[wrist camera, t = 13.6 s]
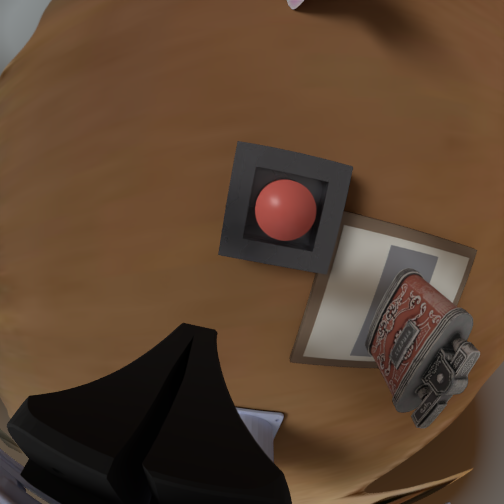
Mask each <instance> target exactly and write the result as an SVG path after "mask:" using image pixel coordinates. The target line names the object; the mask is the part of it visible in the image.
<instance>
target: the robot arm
mask: <svg viewBox="0 0 504 504" xmlns="http://www.w3.org/2000/svg"><path fill="white" fill-rule="evenodd" d="M283 418H284V415H283V414H282V413H278V412H267V411H258V410H250V409H243V408H236V407H235V405H234V403H233V401H232V399H231V397H230V394H229V392H228V389H227V386H226V383H225V380H224V377H223V374H222V371H221V367H220V362H219V358H218V352H217V332H216V330H214V329H209V328H204V327H200V326H195V325H191V324H186V323H182V324H181V325H179V326H178V327H177V328H176V329H175V330H174V331H173V332H172V333H171V334H170V335H168V336H167V337H166V338H165V339H164V340H162V341H161V342H160V343H159V344H157V345H156V346H155V347H154V348H152V349H151V350H150V351H148V352H147V353H145V354H144V355H142V356H141V357H139V358H138V359H136V360H135V361H133V362H132V363H130V364H128V365H127V366H125V367H123V368H121V369H120V370H118V371H116V372H114V373H112V374H110V375H107V376H105V377H103V378H100V379H98V380H95V381H93V382H90V383H88V384H85V385H81V386H78V387H75V388H71V389H67V390H63V391H59V392H53V393H47V394H40V395H32V396H29V397H28V398H27V399H26V400H25V401H24V402H23V404H22V405H21V406H20V407H19V409H18V410H17V411H16V413H15V414H14V415H13V417H12V418H11V419H10V421H9V422H8V424H7V428H8V431H9V433H10V435H11V436H12V438H13V439H14V440H15V442H16V443H17V444H18V446H19V447H20V448H21V450H22V451H23V452H24V453H25V454H26V456H27V457H28V458H29V460H28V462H27V463H26V465H25V467H23V466H22V465H21V464H19V463H18V462H16V461H15V460H14V459H13V458H11V457H10V456H9V455H7V454H6V453H5V452H4V451H3V450H1V449H0V504H42V503H40V502H39V501H37V500H36V499H34V498H33V497H31V496H30V495H29V494H27V493H26V489H25V488H27V489H28V490H30V491H31V492H33V493H34V494H35V495H37V496H38V497H40V498H42V499H43V500H45V501H46V502H48V503H50V504H292V501H291V496H290V492H289V488H288V485H287V482H286V479H285V476H284V474H283V472H282V471H281V470H280V469H279V468H278V467H277V466H276V465H275V464H274V450H273V439H274V437H275V435H276V433H277V431H278V429H279V427H280V425H281V423H282V420H283ZM24 487H25V488H24ZM445 504H450V502H447V503H445Z"/></svg>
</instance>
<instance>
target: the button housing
mask: <svg viewBox="0 0 504 504" xmlns="http://www.w3.org/2000/svg"><path fill="white" fill-rule="evenodd" d="M352 170H353V167H352V166H349V165H345V164H342V163H338V162H334V161H330V160H326V159H322V158H318V157H314V156H310V155H306V154H302V153H297V152H293V151H288V150H283V149H278V148H273V147H268V146H263V145H257V144H252V143H246V142H240V141H238V142H237V148H236V153H235V158H234V164H233V169H232V175H231V181H230V186H229V192H228V198H227V204H226V210H225V216H224V222H223V228H222V234H221V241H220V247H219V254H218V255H221V256H227V257H232V258H238V259H243V260H249V261H254V262H259V263H265V264H270V265H276V266H282V267H287V268H293V269H298V270H304V271H309V272H315V273H321V274H326V275H327V272H328V268H329V265H330V261H331V258H332V254H333V250H334V247H335V243H336V239H337V235H338V231H339V227H340V223H341V219H342V215H343V211H344V207H345V202H346V198H347V194H348V189H349V184H350V180H351V175H352ZM278 179H289V180H293V181H295V182H298V183H300V184H302V185H303V186H305V187H306V188H307V189H308V190H309V191H310V192H311V194H312V196H313V197H314V200H315V203H316V217H315V221H314V223H313V225H312V227H311V228H310V229H309V231H308V232H307V233H306V234H304V235H303V236H301V237H299V238H297V239H294V240H289V241H282V240H277V239H274V238H272V237H270V236H268V235H267V234H266V233H265V232H264V231H263V230H262V229H261V228H260V226H259V224H258V222H257V219H256V215H255V206H256V200H257V197H258V194H259V193H260V191H261V190H262V188H263V187H264V186H266V185H267V184H268V183H270V182H272V181H274V180H278Z"/></svg>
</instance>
